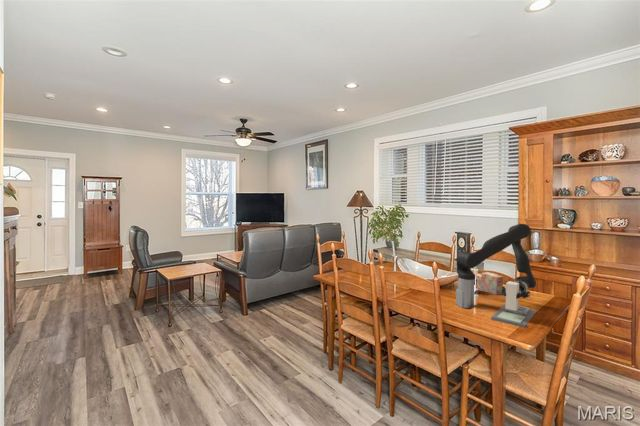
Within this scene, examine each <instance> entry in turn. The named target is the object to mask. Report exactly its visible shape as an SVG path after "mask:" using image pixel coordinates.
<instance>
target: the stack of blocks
mask: <svg viewBox="0 0 640 426" xmlns="http://www.w3.org/2000/svg"><path fill="white" fill-rule="evenodd" d="M476 273H477V289H478V290H480V291H485V292H487V293H489V294H493V295H495V294H496V295H495V296H497V295H502V287H504V276H503V275H500V274H497V273H492V272H488V271H486V272H481V273H478V272H476Z"/></svg>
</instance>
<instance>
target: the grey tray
mask: <svg viewBox="0 0 640 426" xmlns="http://www.w3.org/2000/svg"><path fill="white" fill-rule="evenodd" d="M505 306H506V303H505V304H504V305H502V306H501V307H500V308H499V309H498V310H497V311H496V312H495V313H494V314H493V315H492V316H491V318H490V320H492V321H496V322H499V323H504V324H508V325H512V326H514V327H520V328H524V329H526V328H527V327H528V325H527V324H528V323H529V322H530V321H531V319H532V318H533V317H534V315H535V314H536V313H537V310H536V309H532V308H531V307H528V306H523V305H519V304H518V309H517V310H516V311H514V310H510V309H505Z"/></svg>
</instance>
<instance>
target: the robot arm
mask: <svg viewBox="0 0 640 426" xmlns="http://www.w3.org/2000/svg"><path fill="white" fill-rule="evenodd" d="M530 234H531V227H530V226H529V225H528V224H526V223H518V224H515V225H512V226H510V227H509V228H508V231H506V232H504V233H500V234H499V235H495V236H493V237H491V238H489V239H487V240H486V241H484V243H483V245H482V247H481V248H480V249H479V250H476V251H474V252H471V251H470V252H469V251H466V250H461V251H460V252H458V254H457V255H456V273H457V288H456V289H455V305H456V306H458V307H460V308H461V309H462V308H463V309H464V308H465V309H473V308H474V307H475V293H474V285H475V273H474V272H473V271H472V270H471V269H473V268H476V267H478V266H479V265H480V264H482V263H483V262H484V261H486V260H488V259H489V258H491V257H492V256H494V255H497V254H499V253H500V252H502V251H503V250H505V249H506V248H508V247H510V246H512V249H513V254H514V257H515V263H516V270H517V272H518V273H521V274H522V273H523V274H525V276H524V275H523V276H517V277H515V280H514V282H516V283H519V293H518V294H517V295H516V299H518V298H519V299H521V298H523V299H526V298H530V296H531V291H529V289H534V288H535V287H536V286H537V281H536V278H535V277H534V274H533V272H532V269H531V265H530V264H531V263H530V259H529V255H528V254H527V253H526V251H525V249H523V246H522V241H521V240H523V239H525V238H527V237H529V236H530ZM502 294H503V296H504V297H506V286H503V287H502ZM502 294H501V295H502Z"/></svg>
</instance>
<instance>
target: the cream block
mask: <svg viewBox="0 0 640 426" xmlns="http://www.w3.org/2000/svg"><path fill="white" fill-rule="evenodd" d="M505 288H506V296H505V304H506V306H505V309H510V310H514V311H516V310H517V309H518V305H519V300H520V298H518V299H516V295H517V294H518V293H519V283H516V282H515V281H510V280H509V281H507V282H506V284H505Z"/></svg>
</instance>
